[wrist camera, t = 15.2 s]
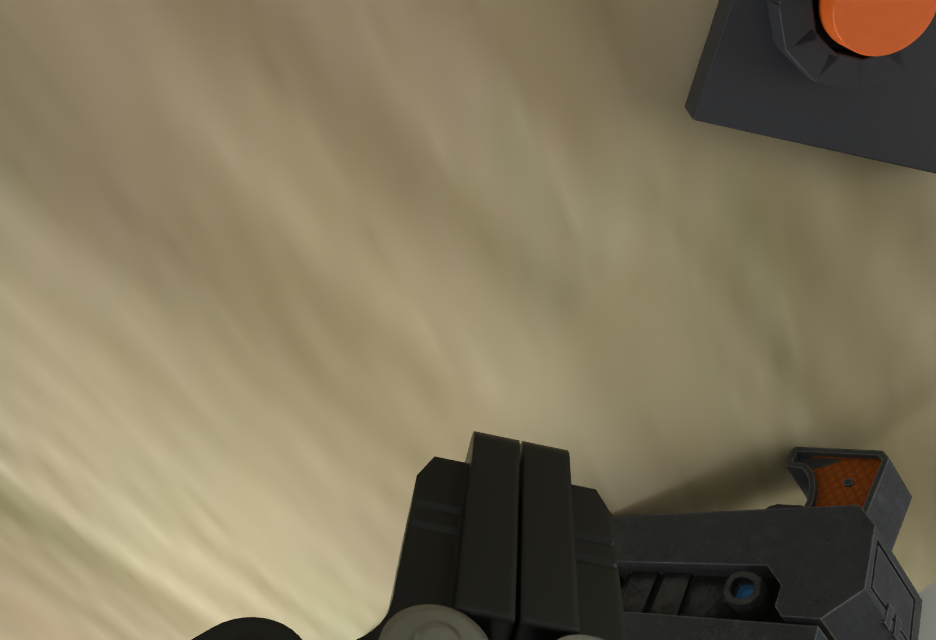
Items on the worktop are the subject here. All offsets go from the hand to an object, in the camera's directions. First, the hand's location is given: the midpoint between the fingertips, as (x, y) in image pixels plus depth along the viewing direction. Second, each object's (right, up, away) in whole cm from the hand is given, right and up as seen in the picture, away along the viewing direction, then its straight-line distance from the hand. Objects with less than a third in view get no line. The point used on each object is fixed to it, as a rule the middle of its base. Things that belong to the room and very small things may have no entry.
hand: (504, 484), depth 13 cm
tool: (+12, -8, +34) cm, 37 cm away
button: (+14, +15, +18) cm, 27 cm away
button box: (+16, +14, +22) cm, 30 cm away
